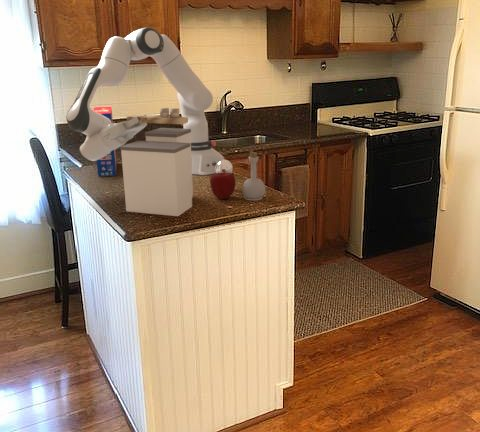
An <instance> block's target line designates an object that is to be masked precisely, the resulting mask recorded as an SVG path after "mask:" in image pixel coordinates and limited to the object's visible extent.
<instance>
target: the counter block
mask: <svg viewBox="0 0 480 432" xmlns="http://www.w3.org/2000/svg"><path fill="white" fill-rule="evenodd" d="M190 132H191V129H183V128H179V127H178V128H177V127H176V128H175V127H158V128H155V129H152V130H149V131H146V132H144V137H145V140H136V141H133V142H130V143H127V144H126V143H125V144H123V145H122V146H120V147H119V149H120V153H121V164H122V174H123V175H122V176H123V186H124V187H123V188H124V200H125V201H124V202H125V212H131V213H141V214H150V215H160V216H161V215H162V216H170V217H172V216H173V217H179V216H180V215H182V214H184V213H185V212H186V211H188V210H189V209H191V208H192V207H193V198H194V187H193V186H194V185H193V174H192V160H191V136H190Z"/></svg>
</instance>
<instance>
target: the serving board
mask: <svg viewBox="0 0 480 432" xmlns="http://www.w3.org/2000/svg"><path fill="white" fill-rule="evenodd" d="M144 115H145V114H144ZM144 115H141V114H139V115H138V114H134V115H133V114H132V115H128V116H126V121H129V120H132V119H133V118H135V117H139V119H140V121H139V122H138V123H147V124H163V125H166V124H168V125H183V124H185V123H188V117H182V116H180V108H175V107H174V108H169V107H163V108H162V107H161V108H159V115H149V114H148V115H147V116H144Z"/></svg>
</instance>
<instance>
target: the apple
mask: <svg viewBox="0 0 480 432" xmlns="http://www.w3.org/2000/svg"><path fill="white" fill-rule="evenodd" d="M209 186H210V189H211V192H212V193H213V195H214V196H215V197H216V199H219V200H227V199H229V198H230V197H231V196H232V195H233V194H234V191H235V188H236V178H235V175H234V174H233V173H227V172H223V173H213V174H211V177H210V181H209Z"/></svg>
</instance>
